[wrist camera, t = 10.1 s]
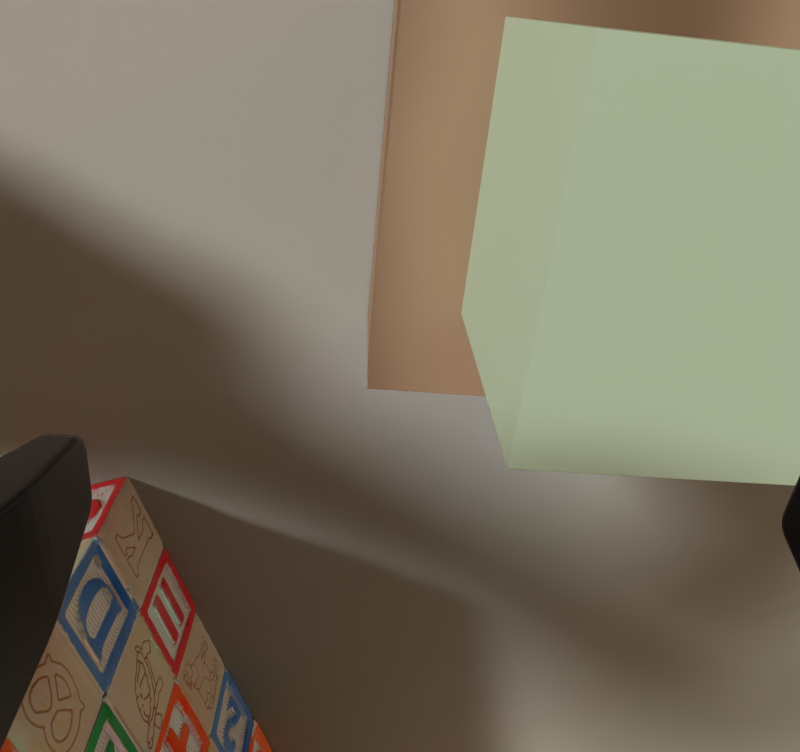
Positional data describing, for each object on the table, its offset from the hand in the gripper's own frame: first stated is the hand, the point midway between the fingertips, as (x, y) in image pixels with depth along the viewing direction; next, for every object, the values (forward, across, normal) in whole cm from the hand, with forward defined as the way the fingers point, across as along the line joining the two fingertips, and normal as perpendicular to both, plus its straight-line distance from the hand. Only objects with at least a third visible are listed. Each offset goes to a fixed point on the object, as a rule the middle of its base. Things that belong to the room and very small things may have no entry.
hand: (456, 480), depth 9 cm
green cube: (+8, -4, -2) cm, 9 cm away
